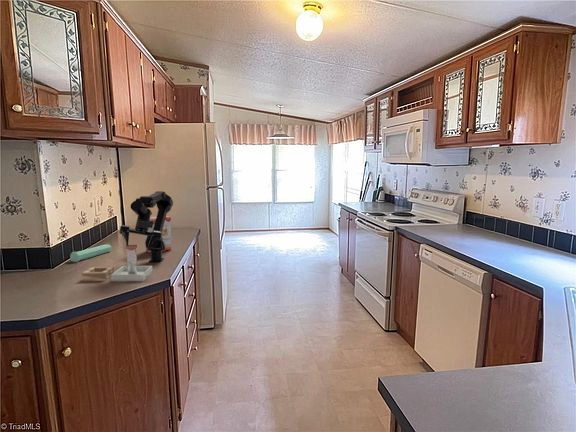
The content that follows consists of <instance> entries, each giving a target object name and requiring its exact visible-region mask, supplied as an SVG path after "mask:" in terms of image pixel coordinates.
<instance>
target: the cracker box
mask: <svg viewBox="0 0 576 432" xmlns="http://www.w3.org/2000/svg"><path fill="white" fill-rule="evenodd" d="M156 217H157V216H150V221H153V226H152V228H148V231H147V232H152V231H153V228H154V224H155V221H156ZM171 219H172V218H171V216H168V215H166V218H165V222H164V226H163V230H162V234H161V235H162V238H163V241H164V243H165V250H162V252H166V250H168V251H172V224H171V223H172V220H171ZM144 237H145V239H144V240H145V241H146V238H147V235H144ZM145 252H147V253H148V254H149V253H150V254H151V251H150V250H148V251H147V249H146V248H145Z"/></svg>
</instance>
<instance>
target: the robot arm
mask: <svg viewBox="0 0 576 432" xmlns="http://www.w3.org/2000/svg"><path fill="white" fill-rule="evenodd" d="M173 206H174V201H173V198H172V197H171V196H169V195H168V194H167V193H166V191H160V190H159V191H157V190H156V191H154V193H151V194H150V195H144V196H143V195H141V196H139V197H138V198H137V197H136V198H135V200H134V201H132V202H131V204H130V210H132V211H133V212H134V214H135V215H137V220H136V223H135V228H131V227H130V225H124V224H121V225H120V228H119V232H118V234H120V235H121V236H122V237H124V241H125V246H126V245H129V239H130V234H136V235H141V236H145V235H147V238H146V241H145V242H144V244H145V250H146V249H147V251H148V250H150V251H151V253H150V259H149V260H148V262H149V263H162V261H163V260H165V258H164V257H163V255H162V254H163V251H162V250H165V243H164V241H163V238H162V235H161V234H162V230H163V226H164V222H165V218H166V216H167V214H168V213H169V212H170V211H171V209H172V207H173ZM154 207H157V214H156V216H155V217H156V221H155V224H154V228H153V231H152V232H147V231H148V228H152V226H153V221H150V217H152V216H151V215H152V214H153V213H152V211H151V209H153V208H154ZM147 251H146V252H147Z"/></svg>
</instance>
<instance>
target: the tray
mask: <svg viewBox="0 0 576 432" xmlns="http://www.w3.org/2000/svg"><path fill="white" fill-rule="evenodd" d="M151 274H153V265H137V274H128V265H122V266H121V267H119V268H118V269H117V270H115V271H114V273H113V274H111V277H110V282H144V281H145V280H146V279H147V278H148V277H149V276H150V275H151Z"/></svg>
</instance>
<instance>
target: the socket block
mask: <svg viewBox="0 0 576 432" xmlns="http://www.w3.org/2000/svg"><path fill="white" fill-rule="evenodd" d="M114 272H115V267H114V266H92V267H90V268H88V269H87V270H84V272H81V281H82V282H95V281H97V282H105V281H107V280H108V279H109V278H110V279H111V274H113V273H114Z"/></svg>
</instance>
